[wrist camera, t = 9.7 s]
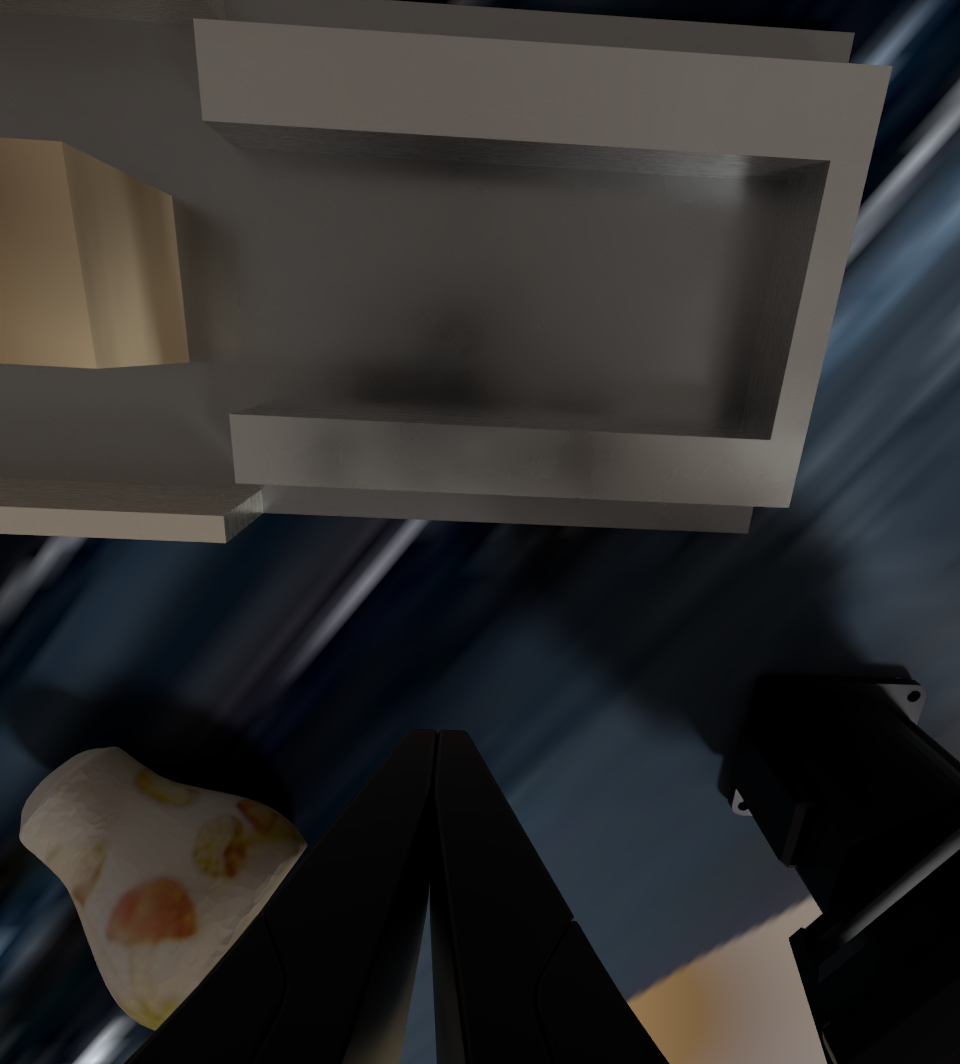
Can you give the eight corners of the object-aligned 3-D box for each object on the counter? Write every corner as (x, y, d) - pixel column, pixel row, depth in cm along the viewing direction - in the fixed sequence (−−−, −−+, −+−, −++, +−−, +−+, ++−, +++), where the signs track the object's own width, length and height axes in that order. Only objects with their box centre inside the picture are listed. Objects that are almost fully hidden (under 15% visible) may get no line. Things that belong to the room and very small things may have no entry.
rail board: (840, 44, 15) (945, -41, 12) (739, 528, 20) (795, 566, 16) (-295, -35, 15) (-532, -152, 11) (-134, 490, 19) (-267, 522, 16)
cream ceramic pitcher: (91, 673, 22) (79, 901, 14) (299, 731, 28) (372, 912, 20) (-22, 829, 22) (-97, 1143, 14) (211, 853, 28) (249, 1080, 20)
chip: (172, 196, 16) (61, 141, 12) (189, 362, 17) (97, 369, 13) (8, 185, 16) (-165, 126, 11) (39, 354, 17) (-104, 357, 13)
